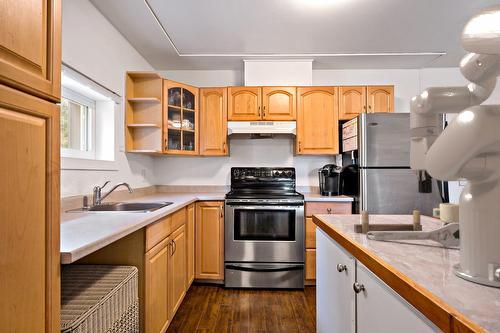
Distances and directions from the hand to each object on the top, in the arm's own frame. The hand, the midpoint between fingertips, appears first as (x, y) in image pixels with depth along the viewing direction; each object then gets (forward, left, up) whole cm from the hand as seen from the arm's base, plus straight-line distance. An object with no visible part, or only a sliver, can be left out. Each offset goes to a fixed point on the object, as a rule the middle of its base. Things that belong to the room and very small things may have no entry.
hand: (425, 192), depth 85 cm
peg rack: (+24, 0, -18) cm, 30 cm away
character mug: (+10, -15, -18) cm, 25 cm away
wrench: (+7, 0, -18) cm, 19 cm away
